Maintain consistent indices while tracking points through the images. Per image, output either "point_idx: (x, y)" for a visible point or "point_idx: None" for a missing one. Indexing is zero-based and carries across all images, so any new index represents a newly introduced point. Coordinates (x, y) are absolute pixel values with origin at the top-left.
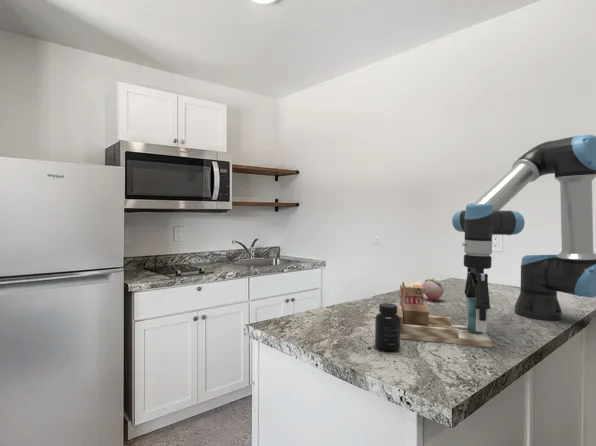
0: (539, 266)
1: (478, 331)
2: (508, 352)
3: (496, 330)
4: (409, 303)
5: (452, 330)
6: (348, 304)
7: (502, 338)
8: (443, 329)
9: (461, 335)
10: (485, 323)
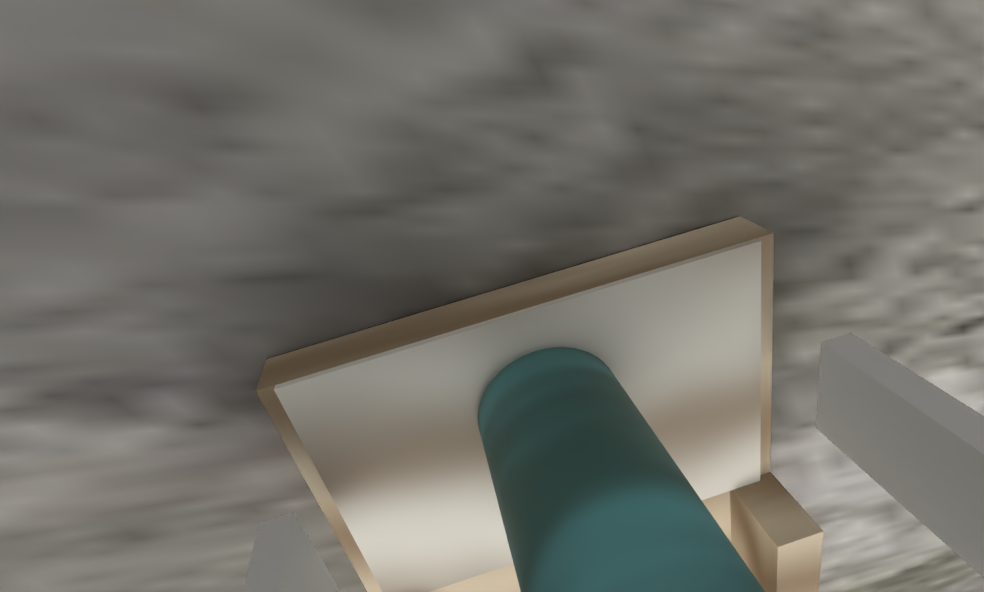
0: None
1: (624, 390)
2: (840, 73)
3: (3, 193)
4: None
5: (817, 560)
6: None
7: (369, 119)
8: None
9: (692, 474)
10: (943, 408)
